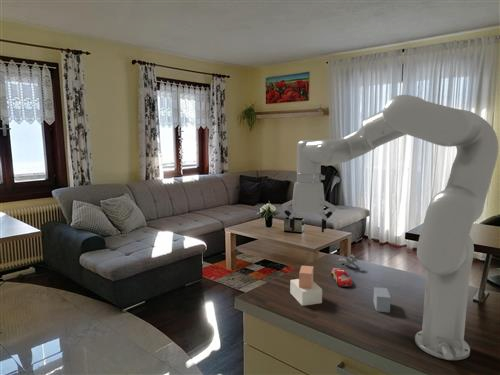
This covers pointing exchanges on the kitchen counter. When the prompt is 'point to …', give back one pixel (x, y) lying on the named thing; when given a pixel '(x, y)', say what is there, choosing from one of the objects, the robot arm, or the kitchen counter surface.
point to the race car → (341, 277)
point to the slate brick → (381, 300)
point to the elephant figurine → (348, 260)
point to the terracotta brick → (306, 277)
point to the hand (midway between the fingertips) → (307, 230)
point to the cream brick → (306, 293)
